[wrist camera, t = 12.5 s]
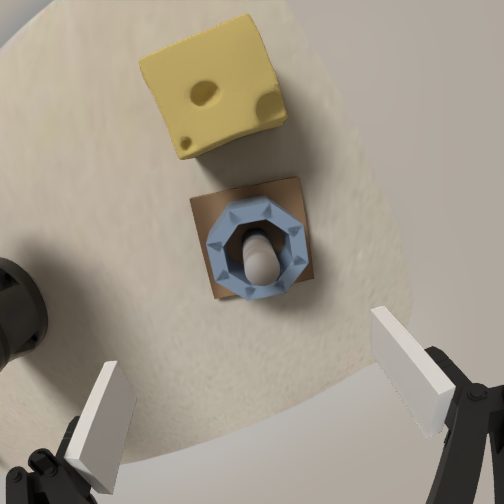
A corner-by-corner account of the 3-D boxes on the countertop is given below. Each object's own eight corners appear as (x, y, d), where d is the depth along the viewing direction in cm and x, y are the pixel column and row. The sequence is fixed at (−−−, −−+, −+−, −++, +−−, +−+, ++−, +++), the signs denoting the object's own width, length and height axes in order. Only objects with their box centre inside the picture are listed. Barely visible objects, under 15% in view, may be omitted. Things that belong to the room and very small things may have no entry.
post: (214, 295, 38) (210, 340, 29) (190, 198, 35) (175, 216, 25) (312, 275, 38) (336, 314, 29) (297, 176, 35) (321, 186, 25)
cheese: (280, 126, 33) (299, 116, 23) (189, 162, 34) (172, 167, 24) (245, 44, 30) (251, 8, 20) (155, 80, 30) (128, 57, 21)
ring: (222, 285, 37) (221, 305, 32) (203, 207, 34) (199, 216, 29) (301, 270, 37) (311, 287, 32) (289, 190, 34) (299, 196, 29)
